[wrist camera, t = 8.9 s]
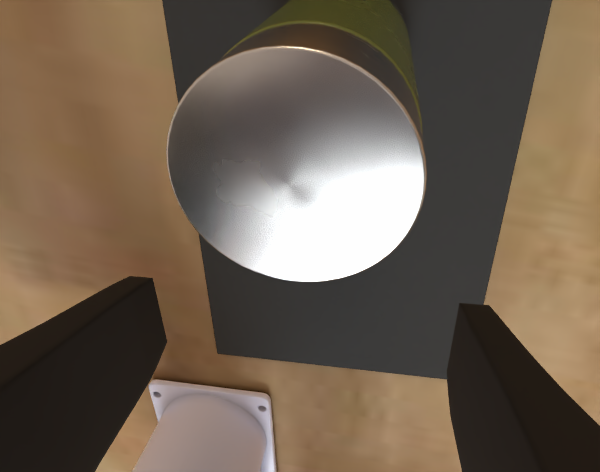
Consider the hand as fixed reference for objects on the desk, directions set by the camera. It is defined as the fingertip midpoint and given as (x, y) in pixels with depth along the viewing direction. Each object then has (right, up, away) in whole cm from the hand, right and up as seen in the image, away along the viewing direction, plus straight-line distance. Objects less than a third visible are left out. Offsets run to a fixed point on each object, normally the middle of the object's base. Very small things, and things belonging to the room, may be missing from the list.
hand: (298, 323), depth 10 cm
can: (+2, +9, +6) cm, 11 cm away
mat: (+2, +5, +9) cm, 10 cm away
